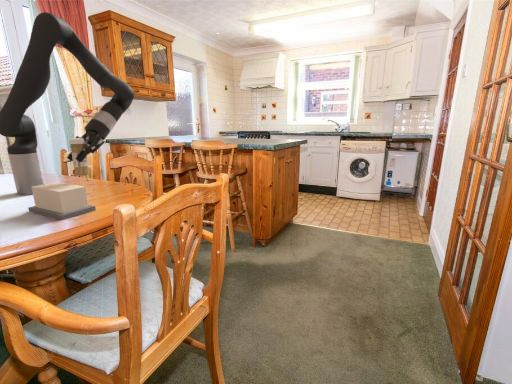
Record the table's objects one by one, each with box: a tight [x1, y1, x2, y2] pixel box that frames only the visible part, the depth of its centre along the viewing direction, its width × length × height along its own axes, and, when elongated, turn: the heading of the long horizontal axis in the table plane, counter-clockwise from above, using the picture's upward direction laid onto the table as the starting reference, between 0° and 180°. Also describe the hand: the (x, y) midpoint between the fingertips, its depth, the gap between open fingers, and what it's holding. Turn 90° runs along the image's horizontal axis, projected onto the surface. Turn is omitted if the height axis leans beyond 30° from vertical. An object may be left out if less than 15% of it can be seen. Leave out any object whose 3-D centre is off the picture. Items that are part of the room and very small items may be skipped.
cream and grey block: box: [27, 181, 97, 221], centre depth 89 cm, size 19×11×9 cm, turn 65°
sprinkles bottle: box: [68, 137, 90, 177], centre depth 95 cm, size 5×5×14 cm
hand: (74, 159), depth 93 cm, fingers closed on sprinkles bottle, 4 cm apart
